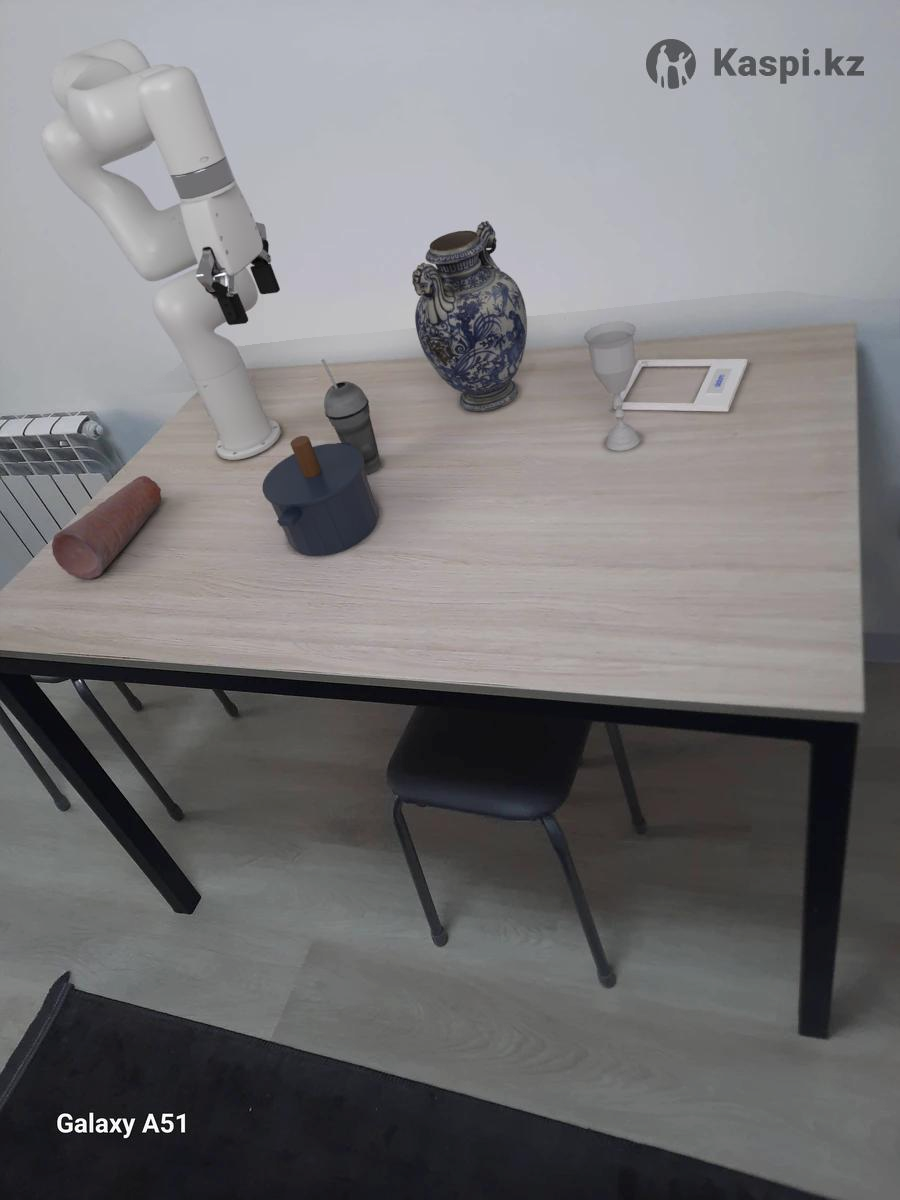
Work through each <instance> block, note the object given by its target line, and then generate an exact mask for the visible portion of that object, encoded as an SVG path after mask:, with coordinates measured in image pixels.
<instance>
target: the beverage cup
mask: <svg viewBox="0 0 900 1200" xmlns="http://www.w3.org/2000/svg"><path fill="white" fill-rule="evenodd" d="M321 363H322V366H323V367H324V369H325V371H326V373H327V376H328V378H329V379H330V382H331V384H332V385H331V386H330V387H329V388H328V389H327V391H326V393H325V396H324V401H323V408H324V414H325V417H326V418H327V419H328V421H329V423H330V424H331V426H332V427H333V428H334V430H335V433H336V435H337V437H338V440H339V442H340V443H350V445H351V446H353V447H355V448H356V449H358V450H359V451H360V453H361V454H362V457H363V460H364V466H363V468H364V471H365V473H366V475H369V474H372V473H375V472H376V471H377V470H378V469H380V468H381V464H382V463H381V459H380V452H379V449H378V444H377V440H376V435H375V432H374V427H373V422H372V419H371V415H370V414H371V411H370V405H369V398H368V397H367V395H366V394H365V391H364V390H363V389H362V388H361V387H360V386H358V385H357V384H355V383H354V382H351V381H339V382H336V381H335V378H334V376H333V375H332V372H331V370H330V369H329V367H328V364H327V362H326V360H325V359H324V358H323V359H321Z"/></svg>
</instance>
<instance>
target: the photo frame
mask: <svg viewBox="0 0 900 1200" xmlns="http://www.w3.org/2000/svg"><path fill="white" fill-rule="evenodd" d="M643 367H709V369H708V371H707V373H706V376H705V377H704V380H703V382H702V385H701V386H700V389H699V390H698V393H697V395H696V397H695V399H694V401H693V402H692V403H691V402H690V403H688V402H634V401H633V402H632V401H630V402H629V401H628V402H627V401H624V400H625V398H626V397H627V395H628V393H629V391H630V389H631V388H632V386H633V384H634V382H635V380H637V379H636V378H637V377H638V375H639V373H640V372H641V370H642V369H643ZM747 367H748V358H704V359H703V358H700V359H699V358H695V359H694V358H692V359H691V358H690V359H689V358H687V359H686V358H685V359H683V358H682V359H680V358H679V359H677V358H675V359H639V360H638V361H637V362H636V363H635V365H634V369H633V373H632V376H631V378H630V381H629V383H628V385H627V388H626V389H625V390H624V391H623V392H621V398H622V400H623V401H624V403H623V405H622V409H623V410H631V411H632V410H637V411H644V410H645V411H678V412H679V411H681V412H682V411H685V412H726V413H727V412H729V410H730V408H731V406H732V403H733V401H734V398H735V396H736V393H737V391H738V388H739V386H740V384H741V381H742V378H743V377H744V374H745V371H746V369H747ZM613 409H614V410H616V408H615V406H614V405H613Z"/></svg>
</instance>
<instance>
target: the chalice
mask: <svg viewBox="0 0 900 1200" xmlns="http://www.w3.org/2000/svg"><path fill="white" fill-rule="evenodd" d="M636 330H637V327H636V325H635V324H633V323H631V322H629V321H622V320H621V321H620V320H619V321H616V320H615V321H607V322H603V323H599V324H597V325H594V326H592V327H591V328H589V329H588V330H586V331H585V333H584V335H583V338H584V340H585V341H586V343H587V344H588V349H589V350H588V351H589V356H590V364H591V369H592V370H593V373H594V374H595V376H596V378H597V380H598V381H599V383H600V384H601V385H602V386H603V388H604V389H605V391H606V392H607V393H609V394H613V402H612V405H613V407H614V406H615V408H616V409H615V412H614V413H613V416H614V417H615V418H616V419H615V420H616V421H617V422H616V424H615V425H614V426H613V427H612V428H611V429H610V430H609V434H608V437H607V440H606V443H605V444H606V447H607V448H608V449H610V450H613V451H616V452H617V451H618V452H621V451H627V450H631V449H633V448H635V447H636V446H637V445H638V444H639V443H640V440H641V438H640V436H639V435H638V434H637V431H636V430H635V429H634V427H633V426H632V425H630V424H628V423H625V420H624V418H625V416H626V415H627V412H625V411H624V409H622V405H623V403H624V402H625V401H624V400H622V398H621V392H623V391H624V390H625V389H626V388H627V385H628V383H629V381H630V378H631V376H632V373H633V370H634V368H635V366H636V354H635V353H636V351H635V344H634V343H635V342H634V336H635V335H636Z"/></svg>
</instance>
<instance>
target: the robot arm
mask: <svg viewBox="0 0 900 1200" xmlns="http://www.w3.org/2000/svg"><path fill="white" fill-rule="evenodd" d="M50 87H51V89H50V90H51V92H52V95H53V98H54V100H55V101H56V102H57V104H58V105H59V107H60V108H61V109H62V110H63V111H64V113H62V114H60V115H58V116H56V117H55V118H52V119H51V120H50V121H49V122H48V123H46V125H45V126H44V127H43V129H42V131H41V134H40V143H41V146H42V149H43V152H44V154H45V156H46V158H47V160H48V162H49V164H50V165H51V168H53V170H54V172H55V173H56V175H57V176H58V177H59V179H60V180H61V181H62V182H63V184H64V185H65V186H66V187H67V188H68V189H69V190H70V191H71V192H72V193H73V194H74V195H75V196H76V197H77V198H78V199H80V201H82V202H83V203H84V204H85V205H86V206H87V207H89V209H91V210H92V211H93V212H94V213H95V215H96V216H97V217H98V218H99V219H100V221H101V223H103V225H104V227H105V228H106V229H107V231H108V232H109V234H110V236H111V237H112V238H113V240H114V241H115V243H116V245H117V246H118V247H119V249H120V250H121V252H122V253H123V255H124V256H125V258H126V259H127V261H128V263H130V265H131V266H132V267H133V269H134V270H135V271H136V273H137V274H138V275H139V276H140V277H141V278H142V279H144V280H145V281H148V282H158V281H159V282H160V281H161V280H165V279H167V278H169V277H172V276H174V275H177V274H179V273H180V272H184V271H185V270H187V269H189V268H191V267H193V266H196V265H198V267H197V268H195V269H192V270H190V271H188V272H185V273H183V274H181V275H179V276H177V277H175V278H173V279H171V280H169V281H167V282H166V283H164V284H163V285H161V286H160V287H159V288H158V289H157V290H156V291H155V293H154V294H153V297H152V300H151V307H152V311H153V314H154V315H155V317H156V319H157V321H158V322H159V324H160V326H161V327H162V329H163V330H164V332H165V333H166V335H167V336H168V338H169V339H170V340H171V342H172V344H173V345H174V347H175V349H176V350H177V352H178V354H179V356H180V358H181V360H182V363H184V366H185V368H186V370H187V372H188V374H189V377H190V378H191V380H192V382H193V385H194V387H195V388H196V391H197V394H198V395H199V397H200V399H201V401H202V404H203V405H204V408H205V410H206V412H207V414H208V416H209V418H210V420H211V423H212V425H213V426H214V429H215V431H216V433H217V435H218V437H219V439H218V440H217V442H216V444H215V451H216V453H217V456H219V457H220V458H222V459H223V460H228V461H238V460H245V459H249V458H251V457H252V458H253V457H254V456H256V455H259V454H261V453H263V452H265V451H267V450H269V449H270V448H271V447H272V446H273V445H274V444H275V443H277V441H278V440H279V438H280V437H281V434H282V429H281V427H280V424H279V423H278V422H277V421H275V420H273V419H270V418H269V419H268V416H267V415H266V414H267V413H266V412H265V410H264V408H263V404H262V402H261V400H260V398H259V395H258V393H257V391H256V389H255V386H254V384H253V382H252V379H251V377H250V375H249V371H248V369H247V367H246V364H245V363H244V360H243V358H242V356H241V353H240V351H239V349H238V347H237V346H236V345H235V343H233V342H232V341H231V340H230V339H228V338H226V337H224V336H223V335H220V334H218V333H217V332H215V330H216V329H217V328H218V327H220V326H222V325H223V324H225V323H227V324H228V326H234V325H245V324H247V323H248V322H249V317H248V314H247V313H246V312H248V311H250V310H252V309H253V308H254V307H255V305H256V304H257V302H258V300H259V299H258V298H259V294H260V295H268V294H269V295H270V294H275V293H279V292H280V290H281V287H280V285H279V283H278V279H277V277H276V274H275V272H274V269H273V266H272V264H271V262H272V257H271V255H270V254H269V246H270V244H269V241H268V240H267V239H268V238H267V229H266V228H267V227H266V225H265V224H264V223H261V222H256V220H255V218H254V216H253V213H252V211H251V209H250V206H249V204H248V202H247V200H246V198H245V196H244V194H243V192H242V190H241V188H240V186H239V184H238V183H237V181H236V178H235V175H234V173H233V170H232V167H231V165H230V162H229V160H228V157H227V155H226V152H225V149H224V146H223V144H222V142H221V139H220V136H219V133H218V131H217V129H216V125H215V123H214V120H213V118H212V115H211V113H210V109H209V107H208V104H207V102H206V99H205V95H204V93H203V91H202V89H201V85H200V83H199V81H198V79H197V75H196V74H195V73H194V72H193V70H191V69H190V68H189V67H187V66H182V65H180V66H174V65H173V64H172V65H171V64H168V63H161V64H158V65H154V66H151V65H150V63H149V60H148V59H147V57H146V56H145V54H144V52H142V50H141V49H139V47H138V46H136V45H135V43H132V42H131V41H129V40H126V39H121V38H119V39H118V38H117V39H112V40H109V41H108V42H103V43H101V44H98V45H95V46H92V47H89V48H87V49H83V50H80V51H78V52H74V53H72V54H70V55H68V56H66V57H64V58H62V59H61V60H60V61H59V62H57V64H56V65H55V66H54V68H53V69H52V71H51V76H50ZM154 142H155V143H156V146H157V147H158V151H159V152H160V154H161V157H162V159H163V162H164V164H165V166H166V169H167V171H168V174H169V175H170V179H171V181H172V183H173V186H174V188H175V190H176V193H177V195H178V197H179V200H180V202H179V203H176V204H174V205H172V206H170V207H166V208H164V209H162V210H159V209H157V208H155V206H154V205H153V204H152V202H151V201H150V200H149V198H148V195H147V194H146V193H145V192H144V190H143V189H142V188H141V187H140V186H139V185H137V183H135V182H133V181H132V180H130V179H128V178H126V177H124V176H122V175H120V174H118V173H115V172H112V171H109V170H107V169H104V168H103V166H106V165H108V164H111V163H113V162H117V161H119V160H121V159H123V158H126V157H128V156H131V155H133V154H136V153H138V152H141V151H144V150H146V149H147V148H149V147H150V146H151V145H152V144H153V143H154ZM250 264H251V266H250V268H249V269H250V271H251V273H250V271H249V269H248V268H247V267H248V266H249V265H250ZM258 292H259V293H258Z"/></svg>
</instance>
